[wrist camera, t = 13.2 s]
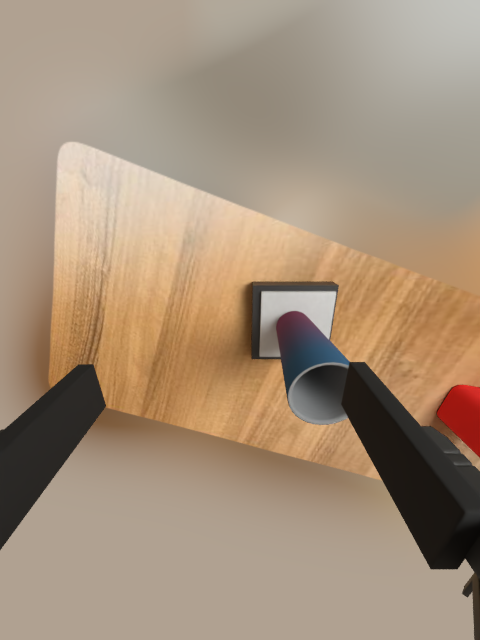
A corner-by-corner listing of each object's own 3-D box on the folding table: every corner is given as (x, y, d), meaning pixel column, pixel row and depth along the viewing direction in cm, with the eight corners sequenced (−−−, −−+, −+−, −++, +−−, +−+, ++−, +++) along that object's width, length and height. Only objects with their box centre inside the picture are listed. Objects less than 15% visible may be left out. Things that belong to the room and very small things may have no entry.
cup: (295, 354, 36) (328, 435, 22) (260, 331, 35) (272, 402, 21) (326, 321, 34) (383, 388, 20) (289, 295, 32) (324, 348, 19)
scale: (252, 281, 35) (253, 286, 32) (332, 281, 35) (340, 286, 32) (251, 351, 39) (251, 361, 37) (322, 352, 39) (328, 361, 36)
